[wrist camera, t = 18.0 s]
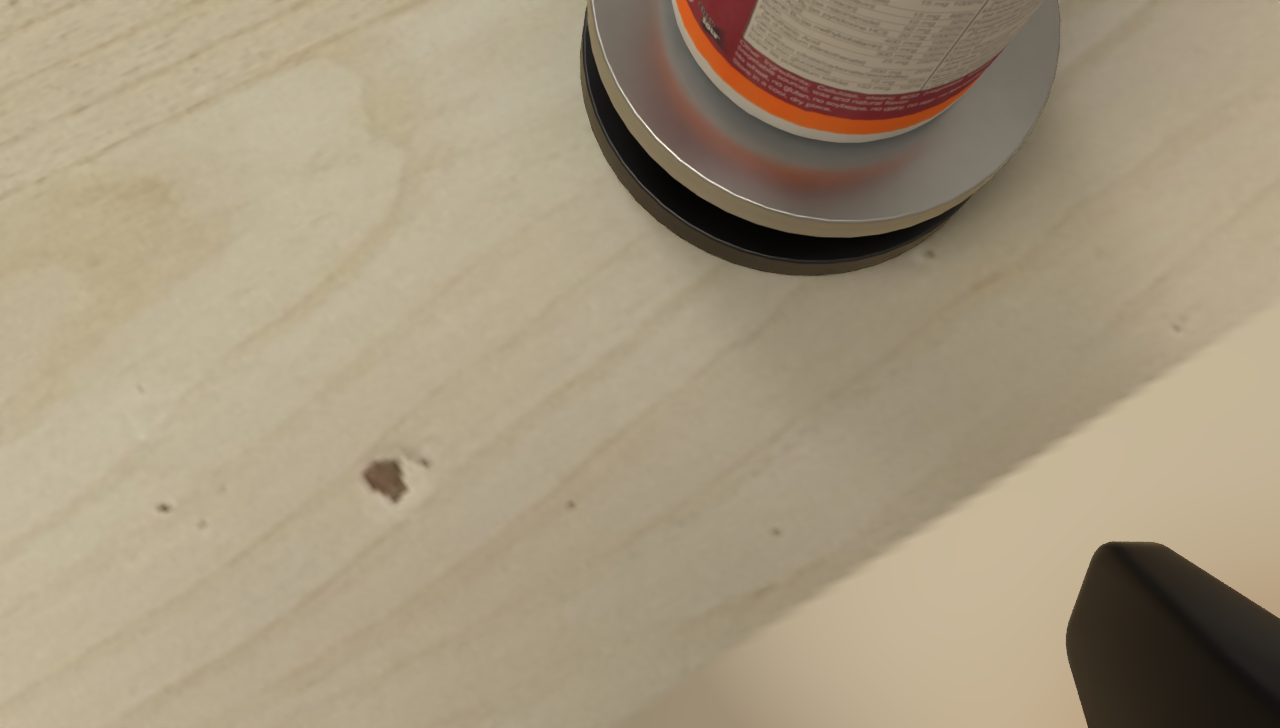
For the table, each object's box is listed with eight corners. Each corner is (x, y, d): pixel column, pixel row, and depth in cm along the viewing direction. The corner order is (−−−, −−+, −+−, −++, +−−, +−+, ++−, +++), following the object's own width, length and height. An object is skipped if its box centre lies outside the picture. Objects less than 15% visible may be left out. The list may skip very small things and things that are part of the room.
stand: (1063, 204, 24) (1138, 143, 22) (668, 333, 23) (691, 286, 20) (900, -153, 26) (949, -253, 23) (521, -56, 24) (523, -151, 22)
